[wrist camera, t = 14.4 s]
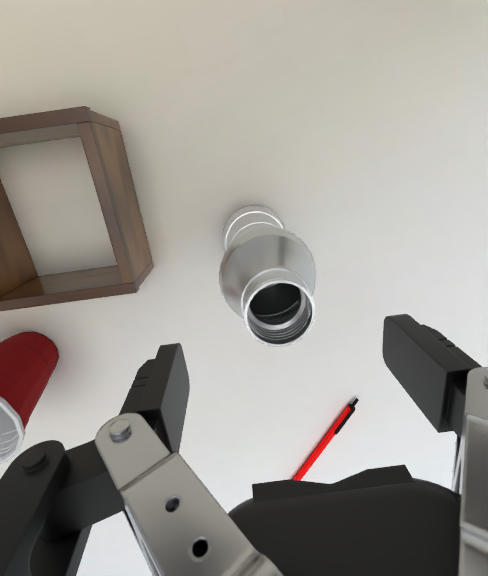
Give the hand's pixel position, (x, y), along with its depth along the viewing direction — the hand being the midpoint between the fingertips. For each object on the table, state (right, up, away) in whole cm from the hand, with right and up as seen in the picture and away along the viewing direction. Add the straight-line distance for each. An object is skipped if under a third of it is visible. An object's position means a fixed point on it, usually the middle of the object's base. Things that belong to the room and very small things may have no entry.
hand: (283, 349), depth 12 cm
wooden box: (-19, +10, +20) cm, 30 cm away
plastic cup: (-27, -6, +26) cm, 38 cm away
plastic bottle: (-1, +8, +22) cm, 24 cm away
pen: (+9, -20, +33) cm, 40 cm away
